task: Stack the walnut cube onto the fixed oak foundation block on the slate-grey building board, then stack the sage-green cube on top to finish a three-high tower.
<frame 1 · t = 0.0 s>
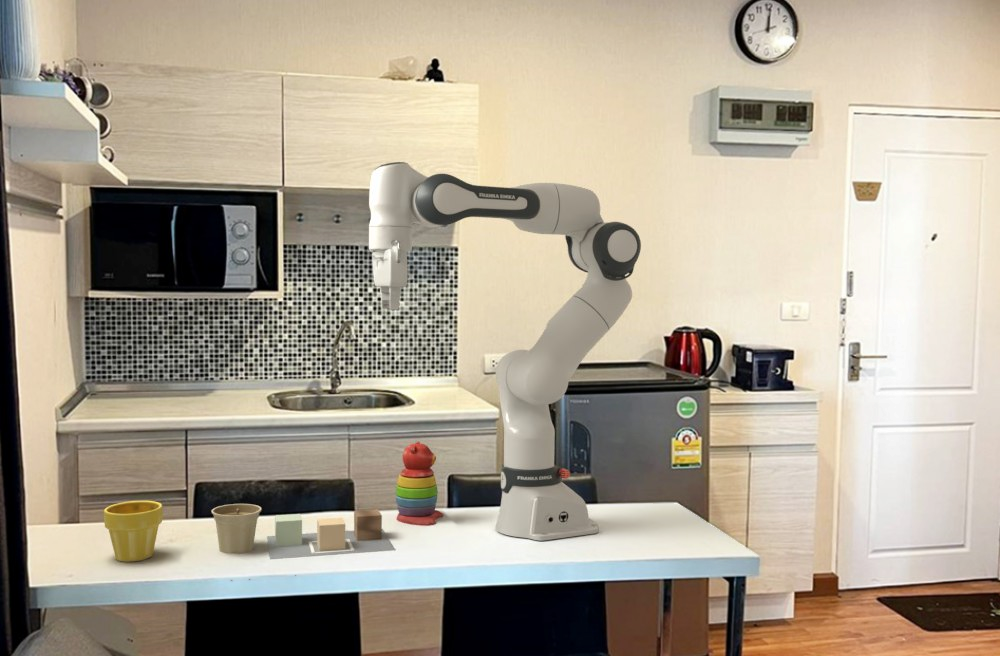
hand: (390, 309, 183), 48 cm above the table, tool pointing down, fingers open, 8 cm apart
flower pot: (236, 553, 174), on the table
sage block: (288, 542, 179), point 1 cm above the table, touching building board
plant pot: (133, 558, 171), on the table
stacking bear: (417, 523, 199), on the table
building board: (329, 546, 179), on the table
walnut block: (367, 536, 183), point 1 cm above the table, touching building board
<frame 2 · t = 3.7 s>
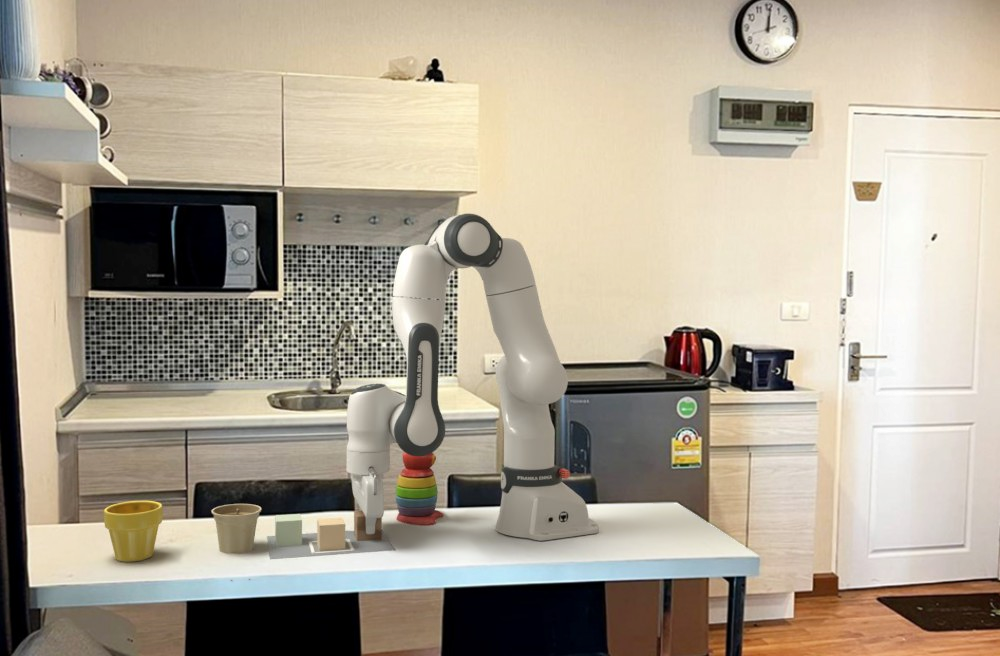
hand: (367, 529, 183), 2 cm above the table, tool pointing down, fingers closed on walnut block, 5 cm apart
walnut block: (367, 536, 183), point 1 cm above the table, touching building board, gripper
everything else where it was.
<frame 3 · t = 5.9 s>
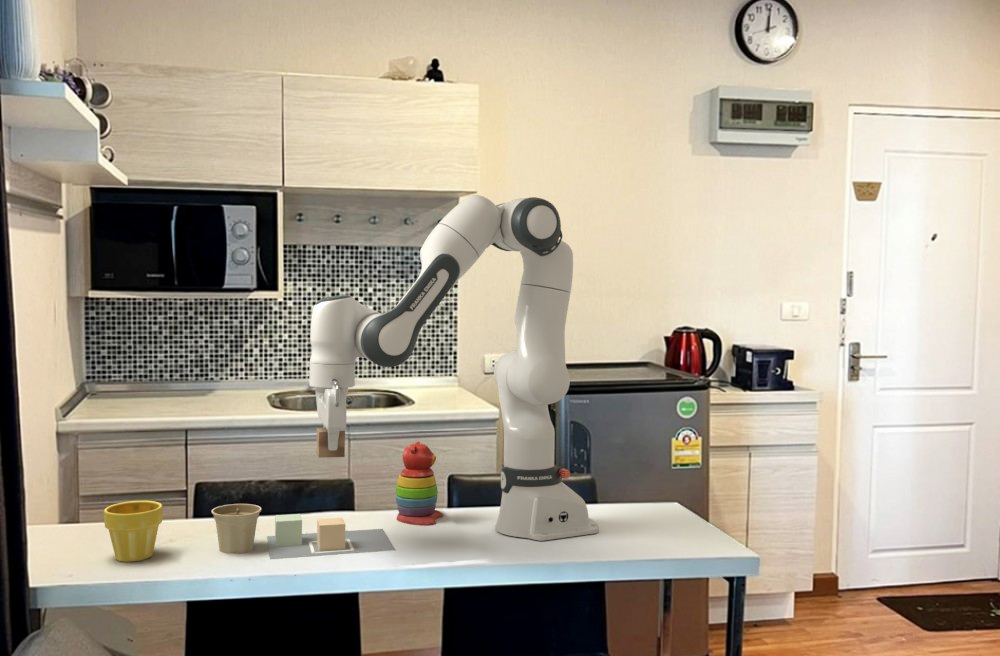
hand: (330, 446, 176), 21 cm above the table, tool pointing down, fingers closed on walnut block, 5 cm apart
walnut block: (330, 454, 176), point 19 cm above the table, touching gripper
everything else where it was.
when the fingers open (8 cm above the table, at t = 8.2 s): walnut block stays where it is, resting on building board.
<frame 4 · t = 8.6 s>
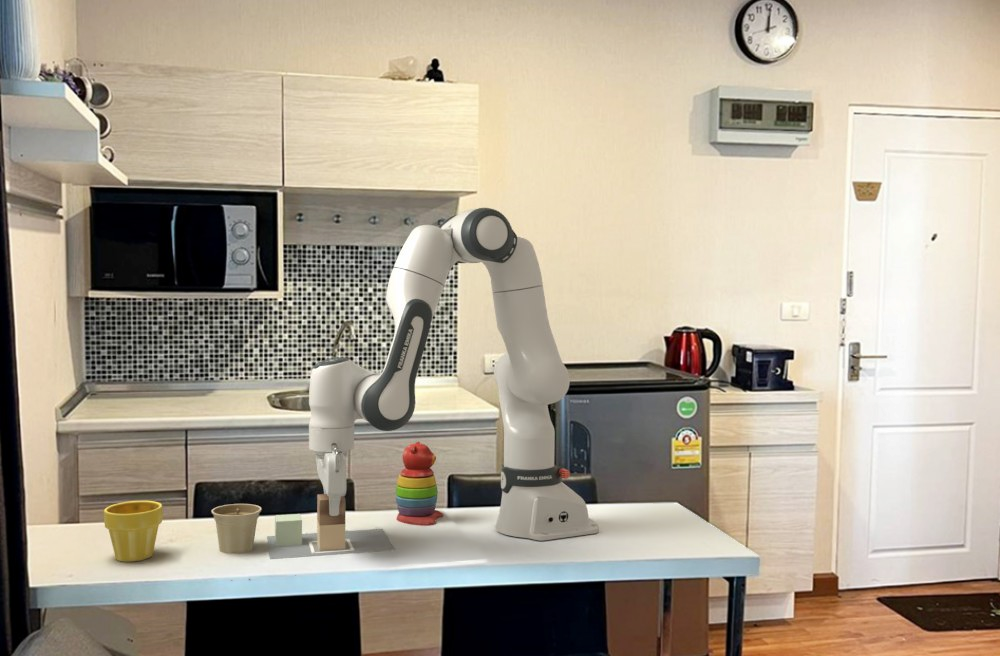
hand: (331, 509, 176), 8 cm above the table, tool pointing down, fingers open, 8 cm apart
walnut block: (331, 521, 176), point 6 cm above the table, touching building board
everything else where it was.
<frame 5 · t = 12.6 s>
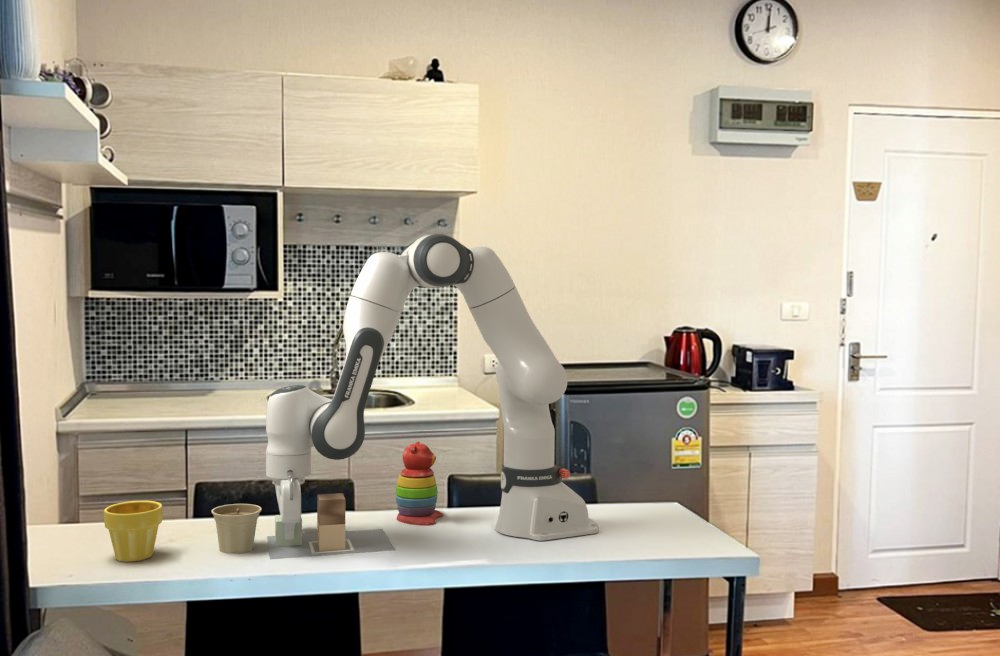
hand: (288, 534, 179), 2 cm above the table, tool pointing down, fingers closed on sage block, 5 cm apart
sage block: (288, 542, 179), point 1 cm above the table, touching building board, gripper
everything else where it was.
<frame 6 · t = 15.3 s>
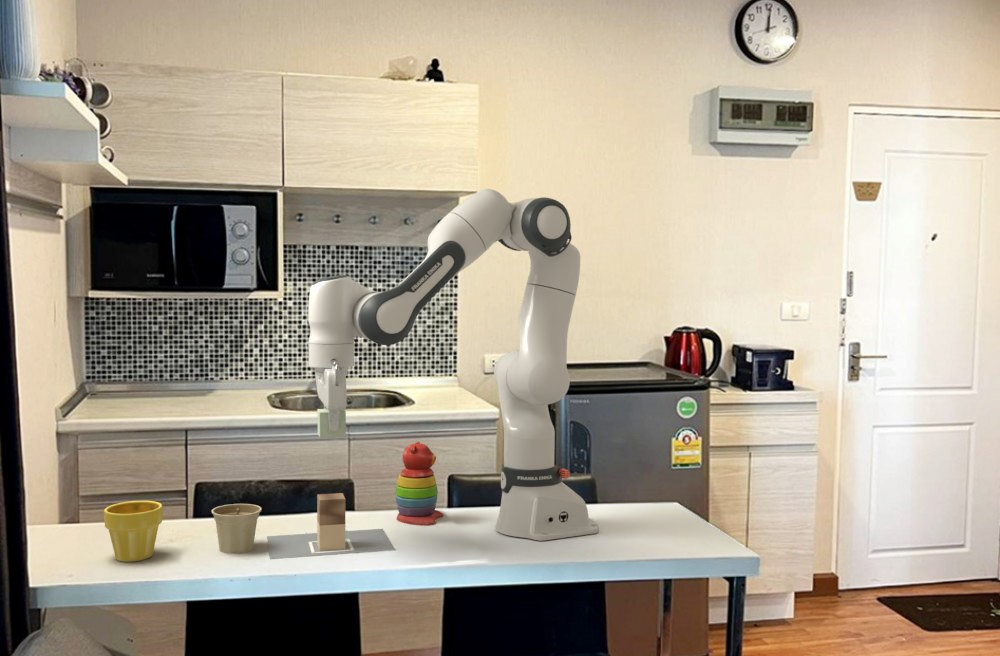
hand: (331, 427, 175), 25 cm above the table, tool pointing down, fingers closed on sage block, 5 cm apart
sage block: (331, 435, 175), point 23 cm above the table, touching gripper
everything else where it was.
when the fingers open (13 cm above the table, at t = 17.9 s): sage block stays where it is, resting on walnut block.
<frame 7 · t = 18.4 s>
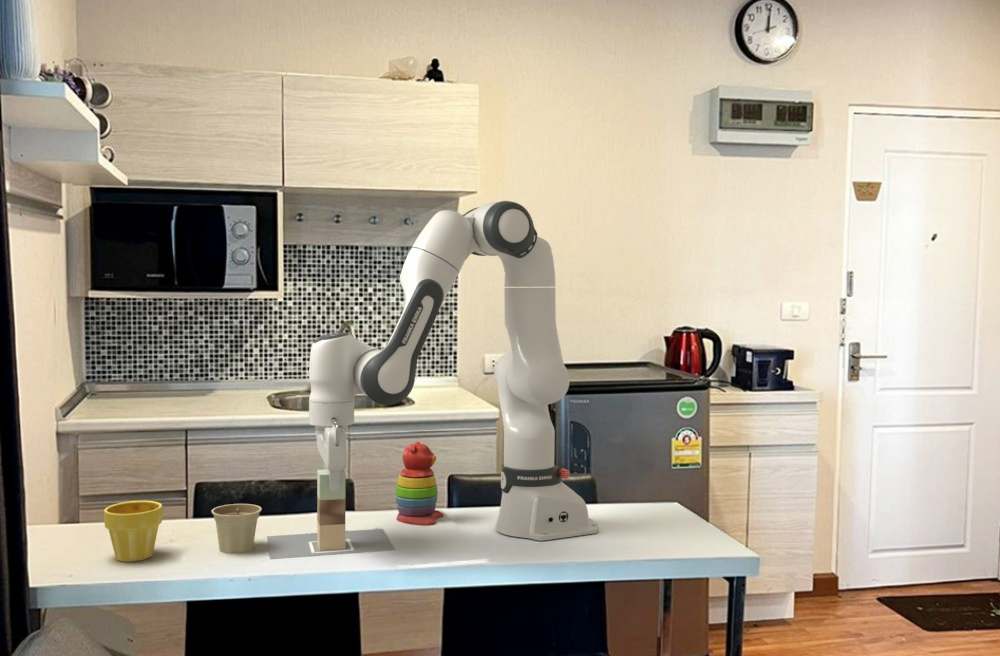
hand: (331, 484, 176), 13 cm above the table, tool pointing down, fingers open, 8 cm apart
sage block: (331, 496, 176), point 11 cm above the table, touching walnut block
walnut block: (331, 521, 176), point 6 cm above the table, touching building board, sage block
everything else where it was.
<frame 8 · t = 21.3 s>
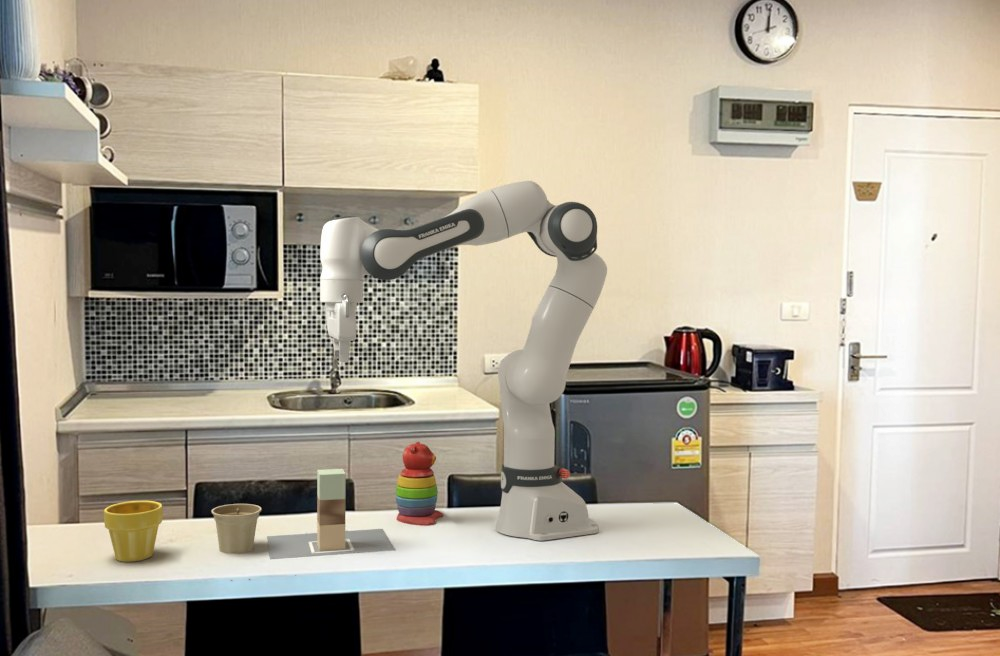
hand: (341, 360, 185), 37 cm above the table, tool pointing down, fingers open, 8 cm apart
nothing on the table moved.
at the end: walnut block 0.0 cm from the target spot on the building board, point 5.8 cm above the building board's base; sage block 0.0 cm from the target spot on the building board, point 10.8 cm above the building board's base; sage block tilted 0° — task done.
